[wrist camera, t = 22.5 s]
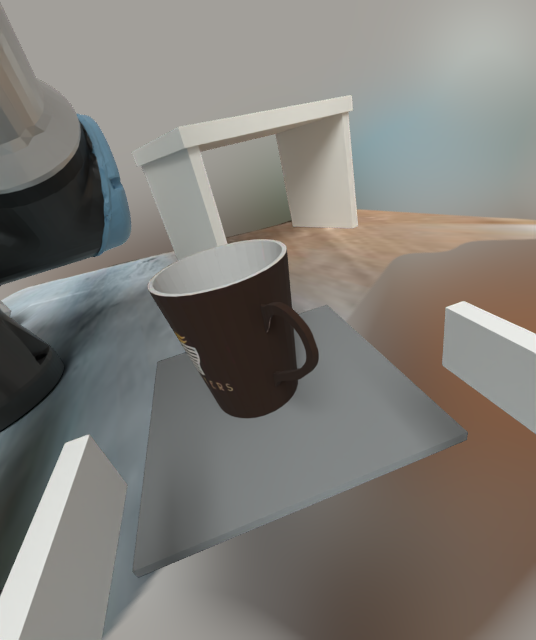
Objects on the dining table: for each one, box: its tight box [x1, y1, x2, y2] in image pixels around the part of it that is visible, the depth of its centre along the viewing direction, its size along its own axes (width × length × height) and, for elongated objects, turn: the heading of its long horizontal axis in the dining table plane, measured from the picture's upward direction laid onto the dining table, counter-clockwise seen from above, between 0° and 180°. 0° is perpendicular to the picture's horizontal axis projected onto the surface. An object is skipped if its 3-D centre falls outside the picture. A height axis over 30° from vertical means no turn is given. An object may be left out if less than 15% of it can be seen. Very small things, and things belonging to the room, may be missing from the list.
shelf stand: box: [132, 95, 358, 261], centre depth 51 cm, size 17×30×20 cm, turn 130°
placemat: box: [132, 305, 468, 577], centre depth 23 cm, size 18×18×1 cm
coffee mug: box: [148, 239, 319, 418], centre depth 20 cm, size 12×9×10 cm
